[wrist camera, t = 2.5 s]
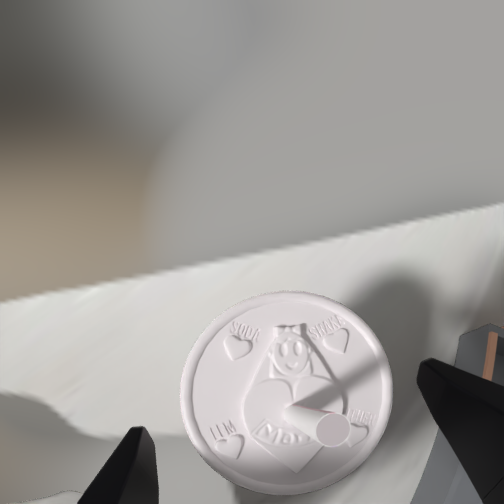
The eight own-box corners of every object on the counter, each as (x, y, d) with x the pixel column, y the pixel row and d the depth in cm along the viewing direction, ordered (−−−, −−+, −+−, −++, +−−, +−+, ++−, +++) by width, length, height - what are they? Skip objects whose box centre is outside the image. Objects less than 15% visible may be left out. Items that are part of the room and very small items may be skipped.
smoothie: (215, 448, 15) (134, 566, 3) (211, 342, 18) (131, 214, 6) (327, 440, 16) (489, 507, 3) (319, 337, 18) (451, 207, 6)
